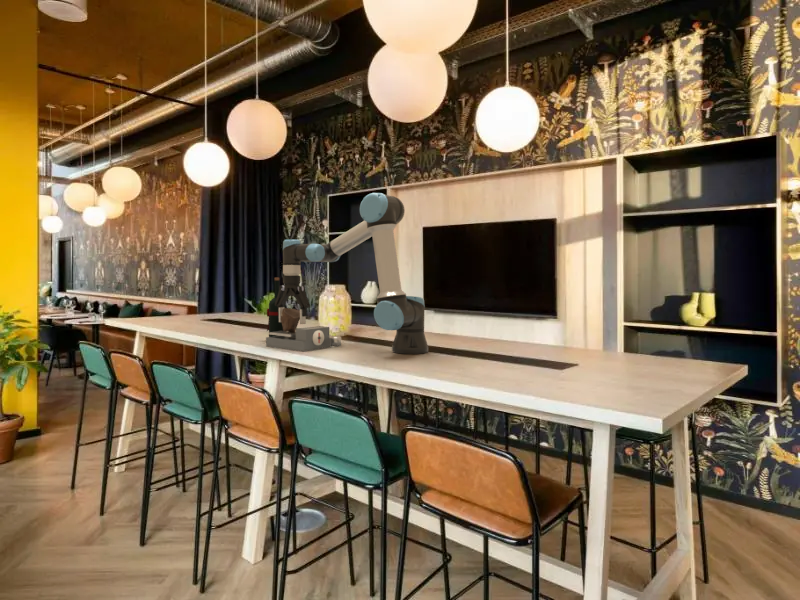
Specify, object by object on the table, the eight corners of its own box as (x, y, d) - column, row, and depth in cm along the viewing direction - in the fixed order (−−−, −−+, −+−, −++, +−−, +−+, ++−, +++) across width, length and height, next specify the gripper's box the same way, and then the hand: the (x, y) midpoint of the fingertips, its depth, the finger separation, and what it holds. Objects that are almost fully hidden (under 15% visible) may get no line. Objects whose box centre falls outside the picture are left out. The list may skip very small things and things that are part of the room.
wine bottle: (274, 339, 260) (273, 277, 258) (289, 341, 255) (289, 277, 253) (261, 341, 254) (261, 277, 252) (277, 343, 248) (276, 277, 246)
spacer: (343, 345, 243) (343, 336, 242) (335, 346, 239) (335, 337, 238) (335, 344, 246) (335, 335, 245) (327, 345, 242) (327, 336, 241)
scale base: (332, 347, 236) (332, 327, 236) (305, 351, 223) (305, 330, 223) (293, 342, 251) (293, 323, 251) (266, 346, 238) (265, 326, 238)
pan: (314, 336, 241) (314, 331, 241) (291, 339, 230) (290, 334, 230) (293, 333, 250) (293, 329, 249) (269, 336, 238) (269, 332, 238)
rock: (303, 322, 233) (283, 309, 231) (290, 340, 235) (270, 328, 233) (306, 313, 245) (287, 301, 243) (294, 330, 247) (275, 318, 245)
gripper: (318, 275, 234) (318, 324, 235) (279, 274, 249) (279, 320, 250) (305, 275, 228) (305, 325, 229) (266, 274, 243) (266, 321, 244)
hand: (292, 323), depth 239 cm, fingers open, 13 cm apart
